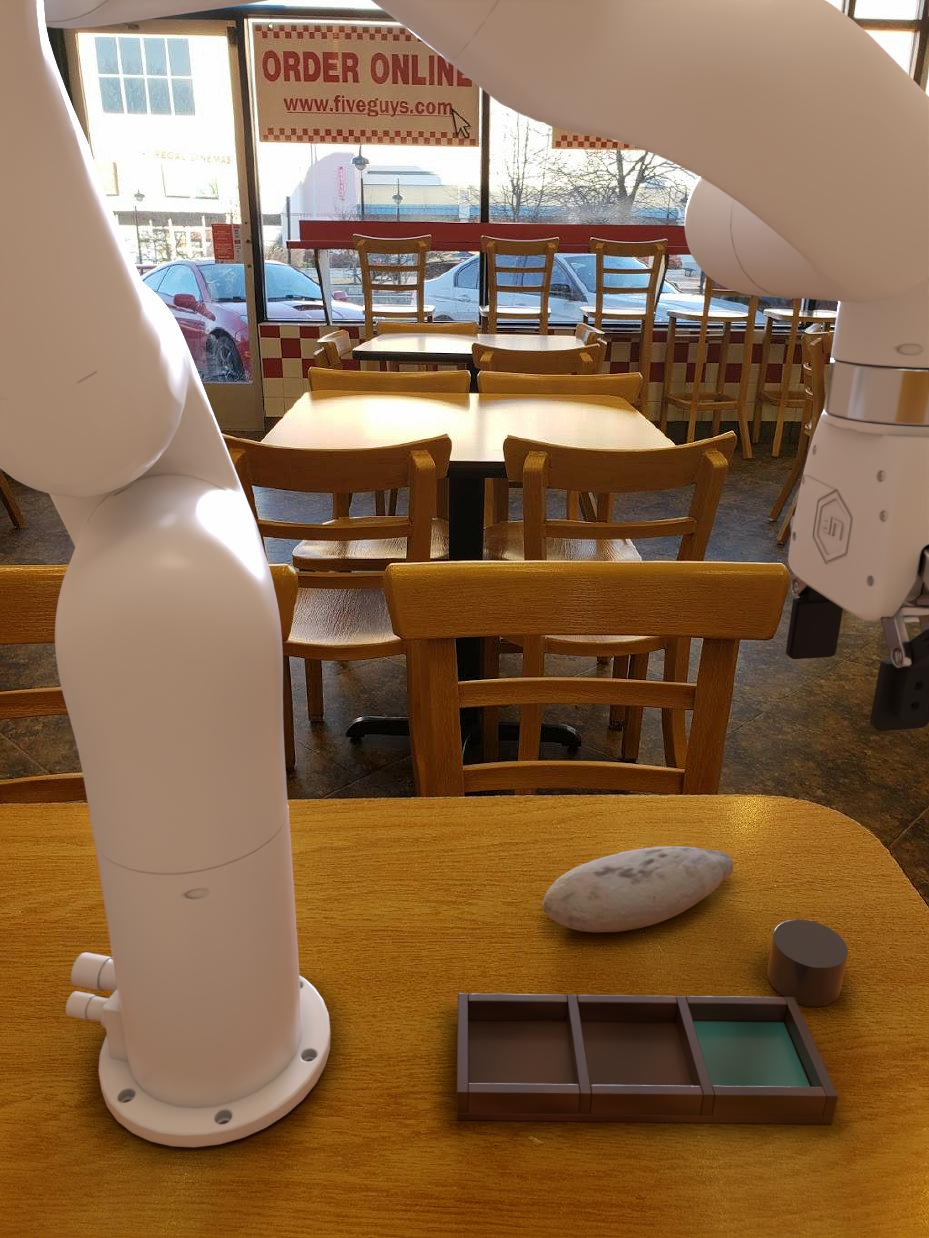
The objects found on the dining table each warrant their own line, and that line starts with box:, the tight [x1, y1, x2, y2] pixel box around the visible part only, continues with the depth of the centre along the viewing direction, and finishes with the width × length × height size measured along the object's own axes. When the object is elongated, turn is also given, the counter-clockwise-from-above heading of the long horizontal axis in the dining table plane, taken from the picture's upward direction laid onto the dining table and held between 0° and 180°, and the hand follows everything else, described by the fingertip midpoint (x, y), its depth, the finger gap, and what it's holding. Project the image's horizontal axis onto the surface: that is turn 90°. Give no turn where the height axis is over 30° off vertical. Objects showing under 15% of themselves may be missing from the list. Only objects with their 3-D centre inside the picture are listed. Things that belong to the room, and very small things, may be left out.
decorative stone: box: [541, 845, 734, 933], centre depth 65 cm, size 6×16×3 cm, turn 117°
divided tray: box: [455, 992, 839, 1125], centre depth 52 cm, size 20×7×2 cm, turn 90°
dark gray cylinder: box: [766, 919, 849, 1008], centre depth 59 cm, size 4×4×3 cm
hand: (850, 688), depth 56 cm, fingers open, 9 cm apart
